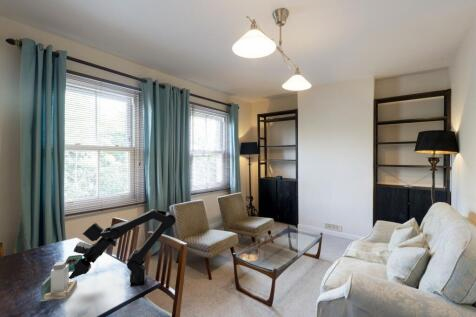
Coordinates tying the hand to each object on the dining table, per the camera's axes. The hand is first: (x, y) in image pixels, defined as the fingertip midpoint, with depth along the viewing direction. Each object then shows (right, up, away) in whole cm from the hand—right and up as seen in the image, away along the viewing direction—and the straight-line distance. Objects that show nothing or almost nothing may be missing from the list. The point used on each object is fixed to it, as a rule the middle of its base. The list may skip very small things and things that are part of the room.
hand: (73, 273), depth 108 cm
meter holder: (-5, -8, -1) cm, 10 cm away
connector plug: (-5, -8, -1) cm, 9 cm away
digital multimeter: (-19, -8, +25) cm, 32 cm away
